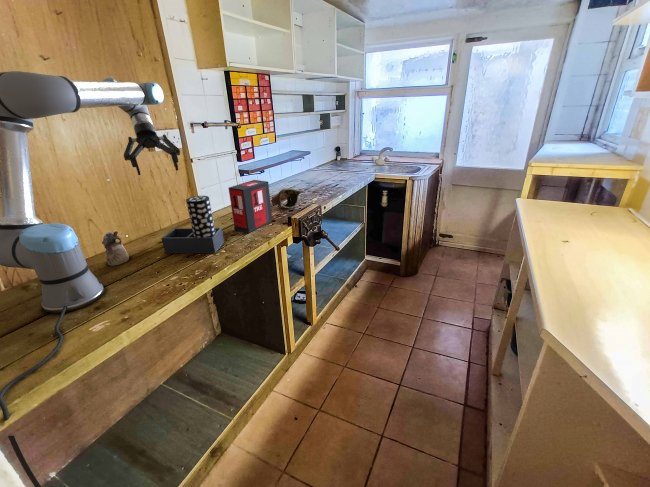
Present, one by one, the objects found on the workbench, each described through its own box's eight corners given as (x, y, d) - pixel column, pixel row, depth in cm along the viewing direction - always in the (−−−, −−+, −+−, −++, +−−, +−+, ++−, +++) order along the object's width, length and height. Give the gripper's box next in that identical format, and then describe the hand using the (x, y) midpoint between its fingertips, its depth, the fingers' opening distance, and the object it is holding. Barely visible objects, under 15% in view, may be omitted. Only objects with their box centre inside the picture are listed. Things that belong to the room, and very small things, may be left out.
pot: (282, 184, 186) (298, 179, 172) (292, 200, 190) (308, 197, 176) (260, 199, 178) (275, 195, 163) (271, 216, 182) (286, 214, 167)
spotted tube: (210, 250, 124) (201, 202, 115) (192, 249, 125) (181, 201, 117) (221, 242, 131) (213, 196, 123) (203, 241, 133) (194, 195, 124)
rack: (215, 253, 123) (212, 237, 121) (165, 253, 125) (161, 238, 122) (224, 242, 133) (221, 227, 130) (177, 242, 134) (174, 228, 132)
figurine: (110, 258, 121) (100, 230, 116) (130, 255, 124) (122, 227, 119) (105, 267, 115) (95, 237, 110) (127, 263, 117) (118, 234, 113)
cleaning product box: (249, 232, 142) (243, 189, 134) (234, 229, 146) (228, 187, 138) (272, 221, 155) (268, 181, 147) (258, 218, 159) (254, 179, 151)
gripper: (176, 132, 137) (191, 172, 132) (110, 137, 125) (123, 180, 119) (176, 120, 131) (191, 160, 126) (106, 123, 119) (120, 168, 113)
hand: (158, 170), depth 123 cm, fingers open, 13 cm apart
